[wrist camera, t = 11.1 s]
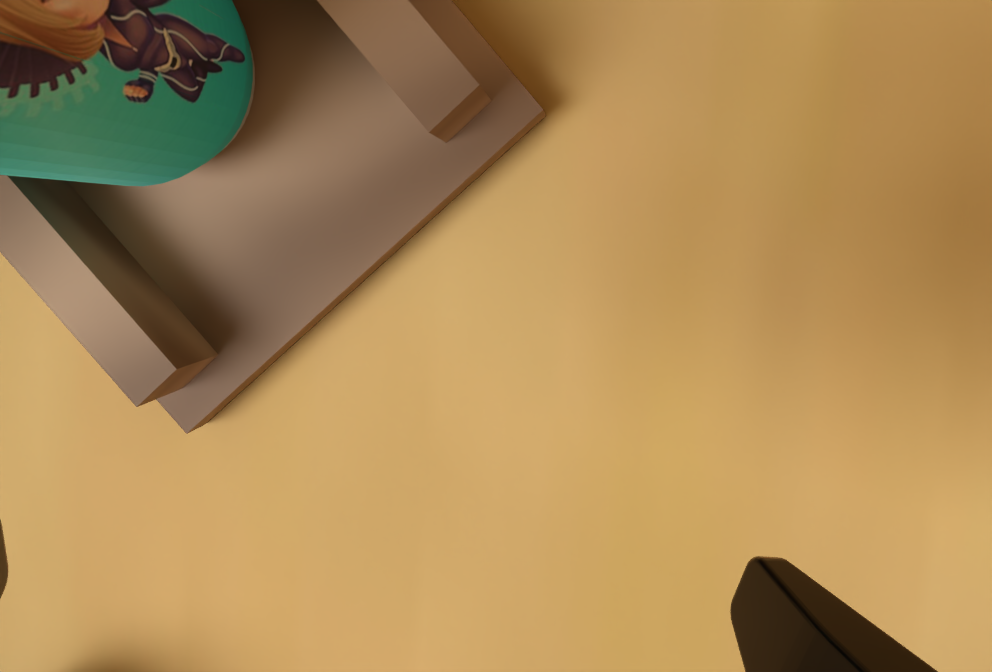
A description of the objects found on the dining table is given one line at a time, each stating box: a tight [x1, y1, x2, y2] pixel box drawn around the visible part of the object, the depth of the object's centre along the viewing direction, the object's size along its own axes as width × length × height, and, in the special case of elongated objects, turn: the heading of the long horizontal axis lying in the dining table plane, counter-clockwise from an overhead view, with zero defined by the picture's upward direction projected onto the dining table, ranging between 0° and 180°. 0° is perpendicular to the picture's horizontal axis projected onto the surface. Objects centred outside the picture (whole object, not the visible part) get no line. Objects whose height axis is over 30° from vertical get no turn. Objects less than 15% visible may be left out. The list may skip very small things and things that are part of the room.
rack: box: [0, 0, 546, 434], centre depth 16 cm, size 14×13×7 cm
